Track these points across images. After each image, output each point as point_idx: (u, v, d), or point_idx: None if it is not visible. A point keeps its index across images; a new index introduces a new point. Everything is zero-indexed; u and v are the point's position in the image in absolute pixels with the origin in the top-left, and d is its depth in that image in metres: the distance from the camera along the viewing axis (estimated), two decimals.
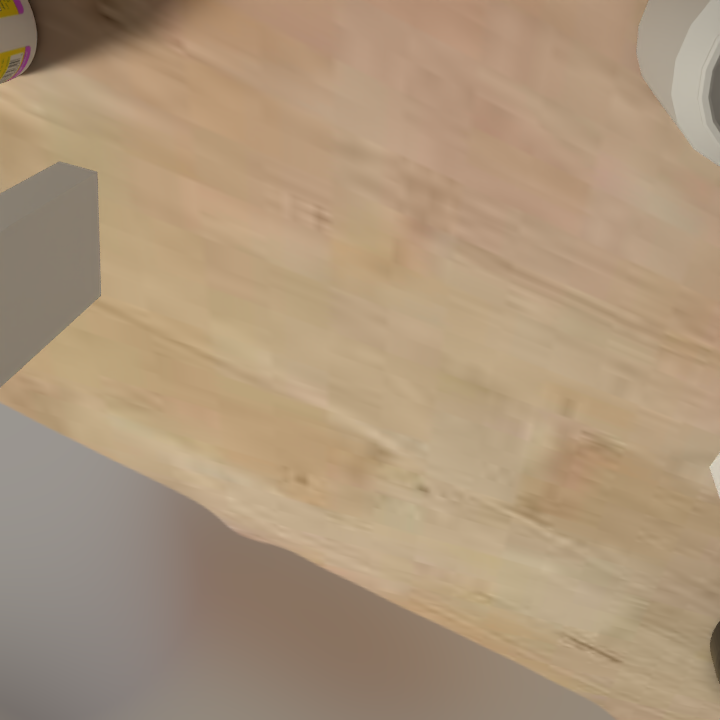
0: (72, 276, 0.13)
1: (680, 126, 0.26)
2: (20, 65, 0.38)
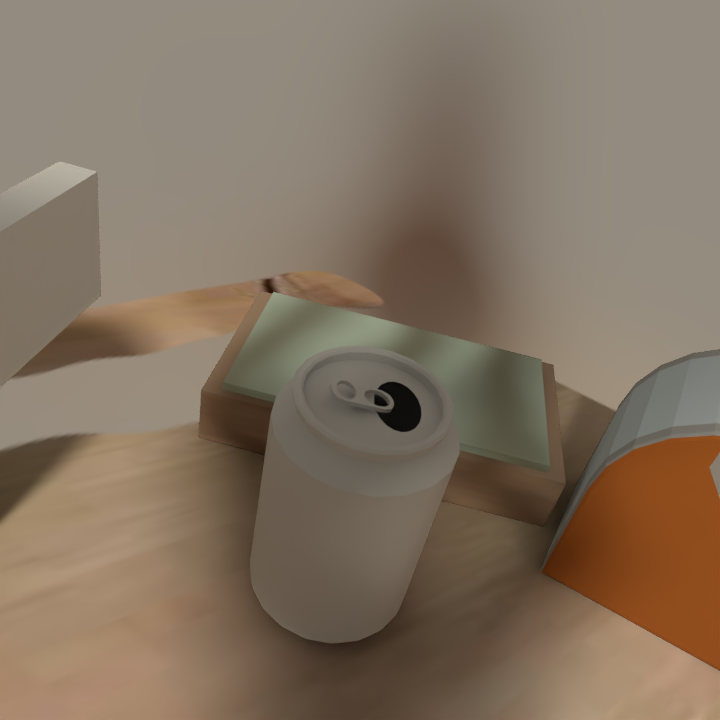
0: (72, 276, 0.13)
1: (377, 495, 0.23)
2: None
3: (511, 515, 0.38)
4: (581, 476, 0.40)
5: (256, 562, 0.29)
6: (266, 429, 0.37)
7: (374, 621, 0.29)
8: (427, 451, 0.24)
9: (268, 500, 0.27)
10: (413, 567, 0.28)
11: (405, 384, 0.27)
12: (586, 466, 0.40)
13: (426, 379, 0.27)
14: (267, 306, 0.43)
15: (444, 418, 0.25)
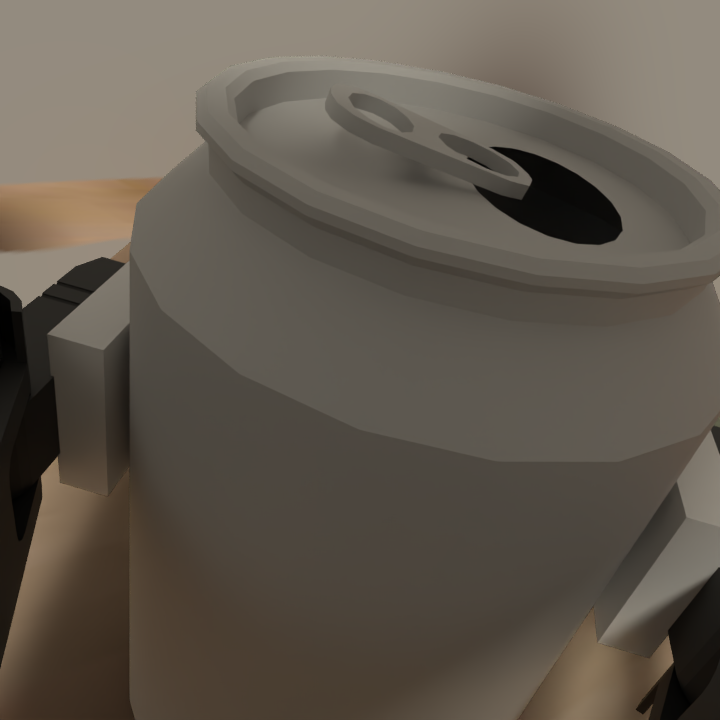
0: None
1: (508, 454, 0.06)
2: None
3: None
4: None
5: (131, 648, 0.11)
6: None
7: None
8: (683, 303, 0.07)
9: (135, 482, 0.09)
10: (542, 680, 0.11)
11: (547, 157, 0.09)
12: None
13: (609, 143, 0.09)
14: None
15: (716, 210, 0.07)
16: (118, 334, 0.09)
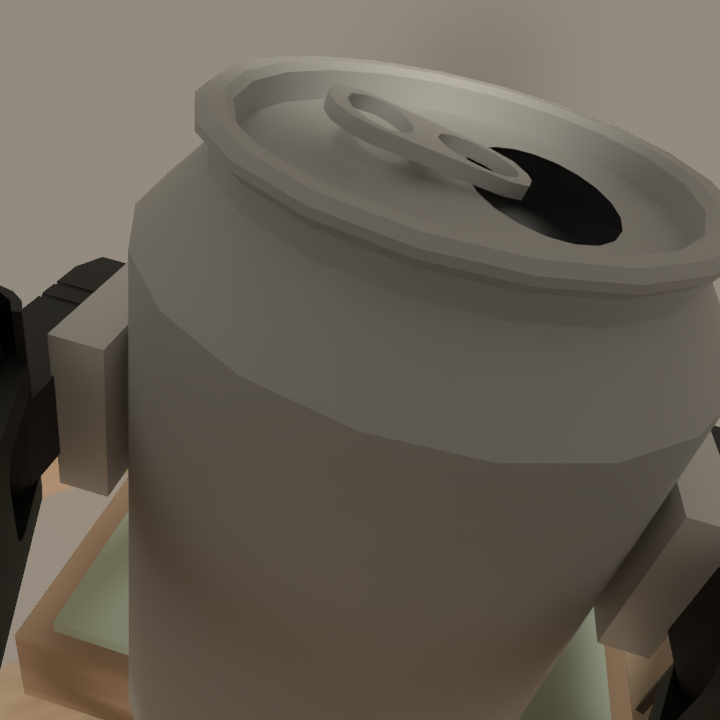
0: None
1: (508, 455, 0.06)
2: None
3: None
4: None
5: (130, 649, 0.11)
6: None
7: None
8: (683, 303, 0.06)
9: (134, 482, 0.09)
10: (542, 681, 0.11)
11: (547, 157, 0.09)
12: None
13: (609, 143, 0.09)
14: None
15: (715, 210, 0.07)
16: (118, 334, 0.09)
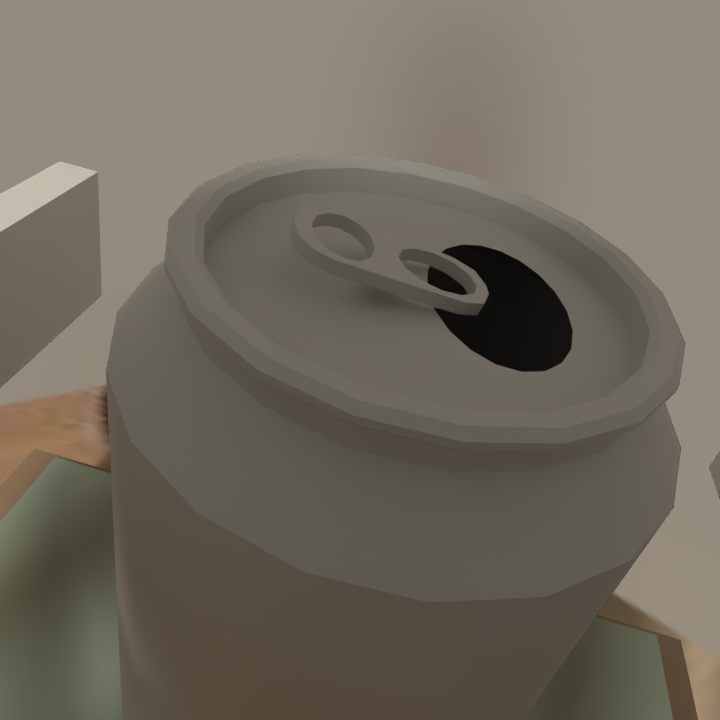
0: (73, 276, 0.13)
1: (440, 594, 0.06)
2: None
3: None
4: None
5: (122, 696, 0.12)
6: None
7: None
8: (615, 438, 0.07)
9: (118, 562, 0.09)
10: None
11: (512, 254, 0.10)
12: None
13: (572, 241, 0.10)
14: (21, 502, 0.18)
15: (658, 334, 0.08)
16: None
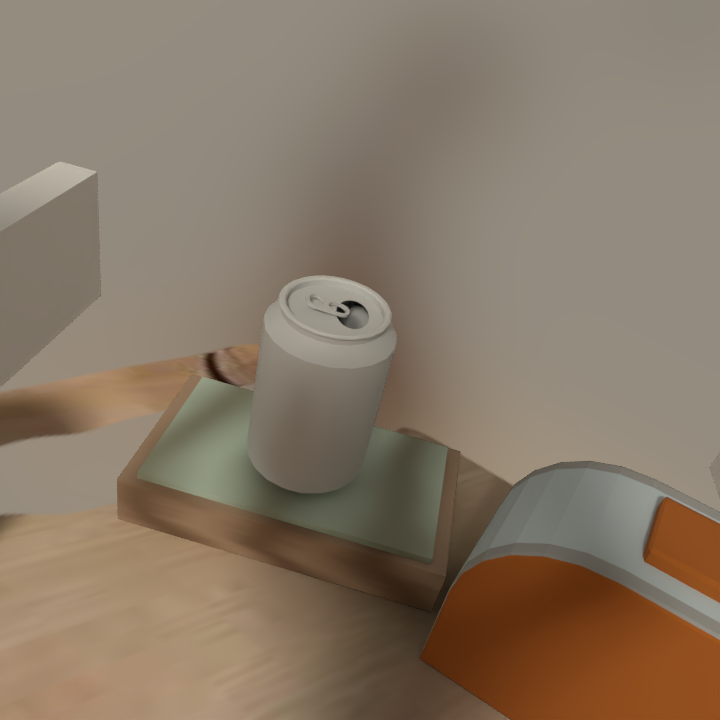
0: (72, 276, 0.13)
1: (331, 366, 0.35)
2: None
3: (401, 600, 0.41)
4: None
5: (251, 432, 0.40)
6: (177, 515, 0.41)
7: (334, 478, 0.40)
8: (368, 341, 0.35)
9: (260, 379, 0.38)
10: (363, 438, 0.39)
11: (360, 302, 0.38)
12: None
13: (375, 299, 0.38)
14: (193, 392, 0.47)
15: (383, 321, 0.36)
16: None
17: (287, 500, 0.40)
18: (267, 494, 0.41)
